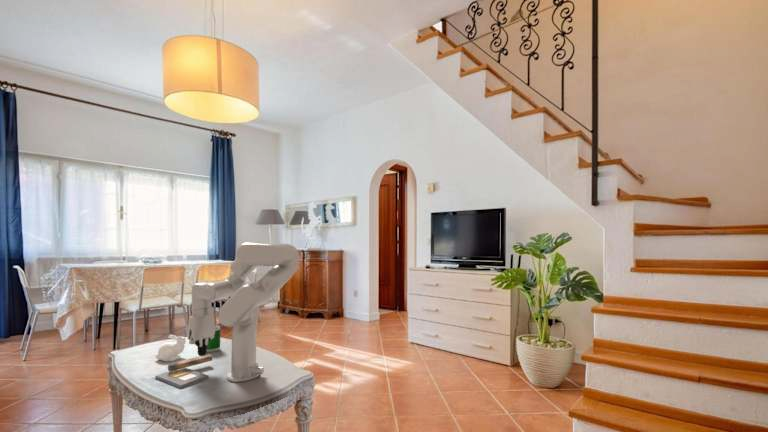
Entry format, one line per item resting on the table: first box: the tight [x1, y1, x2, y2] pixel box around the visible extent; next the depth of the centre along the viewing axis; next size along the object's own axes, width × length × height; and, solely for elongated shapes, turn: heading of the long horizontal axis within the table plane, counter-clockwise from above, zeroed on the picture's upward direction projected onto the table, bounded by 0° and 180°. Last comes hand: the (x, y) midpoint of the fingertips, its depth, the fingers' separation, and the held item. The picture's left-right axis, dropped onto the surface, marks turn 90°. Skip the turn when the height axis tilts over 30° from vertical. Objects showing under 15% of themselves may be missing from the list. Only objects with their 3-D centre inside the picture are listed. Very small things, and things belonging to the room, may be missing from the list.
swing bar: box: [167, 353, 213, 371], centre depth 151 cm, size 17×4×2 cm, turn 138°
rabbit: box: [154, 334, 187, 362], centre depth 164 cm, size 12×9×12 cm
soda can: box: [206, 324, 221, 353], centre depth 177 cm, size 8×8×12 cm
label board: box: [155, 367, 209, 390], centre depth 142 cm, size 18×11×2 cm, turn 59°
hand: (202, 355), depth 150 cm, fingers closed
